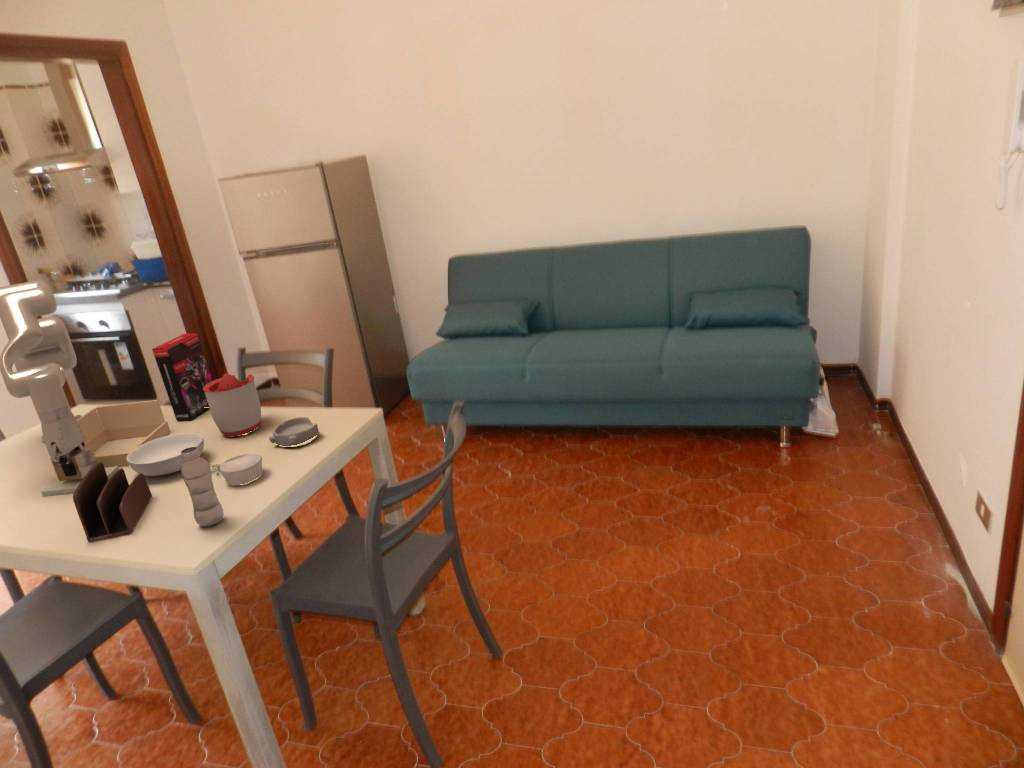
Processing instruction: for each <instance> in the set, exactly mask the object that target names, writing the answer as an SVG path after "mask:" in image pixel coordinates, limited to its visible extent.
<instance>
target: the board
mask: <svg viewBox="0 0 1024 768" xmlns="http://www.w3.org/2000/svg"><path fill="white" fill-rule="evenodd" d="M119 469H120V467H118V466H115V467H107V468H105V471H106V474H107V477H108V480H109V479H110V478H111V477H112V476H113V474H114V473H115V472H117V471H118V470H119ZM82 480H83V478H82V479H73V480H64V481H59V479H58V478H56V479H55V480H54V481H53V482H52V483H51V484H49V485H48V486H46V487H45V488H44V489H42V490H41V491H40V493H41V495H42V497H47V496H46V495H52V496H58V494H61V495H68V493H69V494H74V492H75V490H76V489H77V487H78V485H79V484H80V482H81V481H82Z"/></svg>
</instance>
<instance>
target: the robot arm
mask: <svg viewBox="0 0 1024 768" xmlns="http://www.w3.org/2000/svg"><path fill="white" fill-rule="evenodd" d="M56 300H57V299H56V298H55V295H54V293H53V291H52V290H51V288H50V286H49V285H48V283H46V281H44V280H42V279H41V280H40V279H39V280H32V281H27V282H26V281H25V282H20V283H16V284H9V285H3V286H0V321H1V324H2V326H3V329H4V331H5V334H6V337H7V339H8V341H7V344H5V346H4V348H3V350H2V351H1V354H0V374H1V376H2V380H3V382H4V385H5V387H6V390H7V391H8V394H9V395H11V396H12V397H14V398H17V399H22V398H26V397H30V399H31V402H32V404H33V406H34V409H35V412H36V414H37V417H38V420H39V421H40V425H41V426H40V427H41V432H42V433H41V434H42V436H41V437H40V438H41V441H42V442H43V443H44V444H45V446H46V449H47V452H48V455H49V456H50V461H51V462H52V461H54V462H56V463H58V464H59V465H61V467H62V469H63V472H64V474H65V476H75V475H77V472H76V470H75V467H74V464H73V462H71V461H70V455H69V452H71V451H72V450H80V449H84V445H85V443H84V442H85V438H86V437H85V435H83V434H82V431H81V429H80V426H79V424H78V422H77V419H79V418H80V417H82V415H81V414H76V415H74V414H73V412H72V408H71V407H70V404H69V401H68V398H67V395H66V393H65V391H64V388H63V387H64V386H65V383H66V381H67V374H66V372H65V371H68V370H69V371H70V370H72V369H74V368H75V367H76V366H77V364H78V360H77V354H76V351H75V349H74V346H73V344H72V341H71V337H70V335H69V332H68V329H67V326H66V324H65V323H64V321H63V320H62V319H61V318H59V317H57V316H47V317H42V316H46V315H51V314H54V313H55V312H56V311H57V309H58V308H57V307H58V306H57V301H56ZM38 317H42V318H38ZM13 367H15V369H16V371H13ZM61 452H62V453H61ZM64 455H65V459H64V458H62V456H64Z"/></svg>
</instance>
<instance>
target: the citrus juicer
mask: <svg viewBox="0 0 1024 768" xmlns="http://www.w3.org/2000/svg"><path fill="white" fill-rule="evenodd" d="M203 390H204V391H205V394H206V398H207V401H208V405H209V411H210V415H211V417H212V419H213V421H214V424H215V425H216V426H217V429H218V430H219V432H220V433H221V434H222V435H223V436H224V437H226V436H228V437H227V438H231V437H230V436H237V437H239V436H238V435H242V434H245V433H248V432H250V431H253V430H254V429H256V428H257V427H259V426H260V427H261V425H262V424H261V423H262V407H261V402H260V398H259V394H258V391H257V386H256V382H255V376H254V375H253V374H248V375H247V376H246V377H245V380H239V379H238V378H237V377H236V375H235V374H233V375H232V374H230V373H227V372H226V373H224V374H223V376H222V377H220V378H216V379H214V380H212V381H211V382H209V383H208V384H206V385H205V386H204V387H203ZM260 427H259V428H260ZM253 432H254V431H253Z"/></svg>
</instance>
